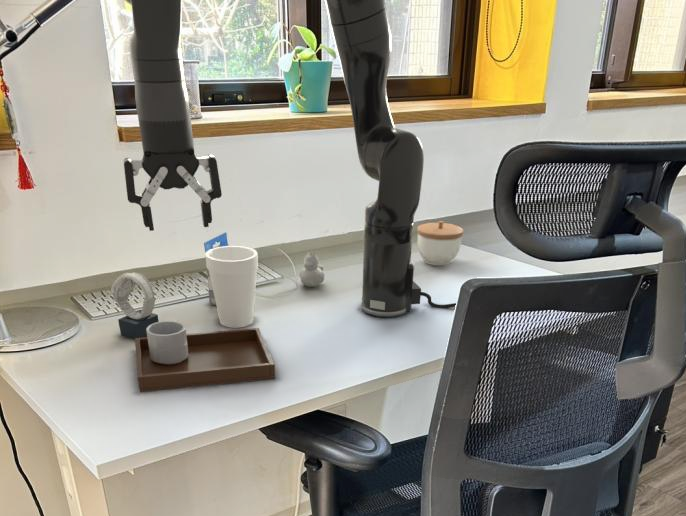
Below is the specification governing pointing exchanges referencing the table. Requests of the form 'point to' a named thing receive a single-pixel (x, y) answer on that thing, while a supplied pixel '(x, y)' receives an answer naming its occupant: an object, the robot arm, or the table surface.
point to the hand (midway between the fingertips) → (179, 227)
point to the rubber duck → (312, 271)
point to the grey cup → (167, 342)
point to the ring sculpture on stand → (134, 320)
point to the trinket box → (439, 242)
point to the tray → (208, 361)
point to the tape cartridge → (208, 246)
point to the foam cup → (233, 283)
